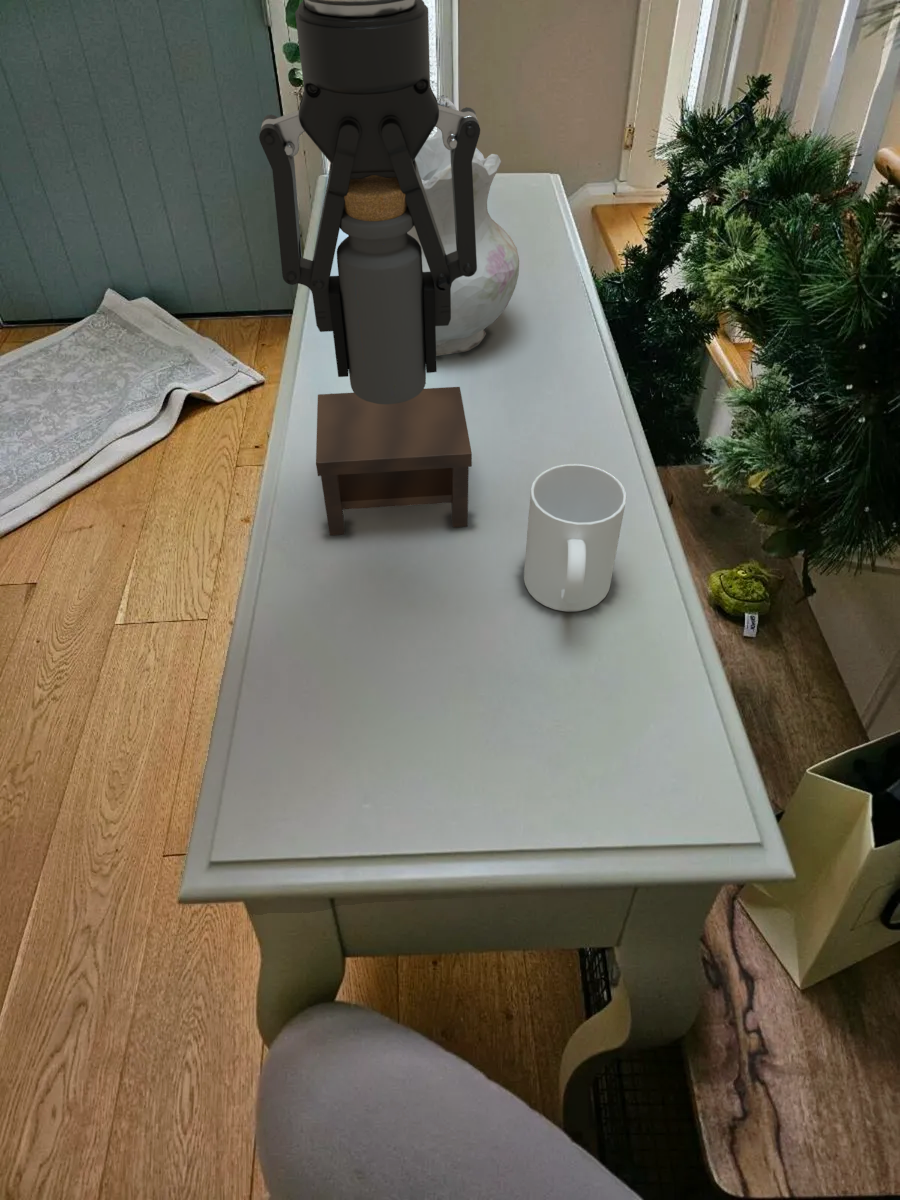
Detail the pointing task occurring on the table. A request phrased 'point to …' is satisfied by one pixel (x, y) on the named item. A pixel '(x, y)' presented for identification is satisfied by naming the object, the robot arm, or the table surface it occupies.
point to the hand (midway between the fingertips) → (387, 364)
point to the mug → (573, 536)
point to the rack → (393, 453)
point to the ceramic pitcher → (495, 250)
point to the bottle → (381, 293)
